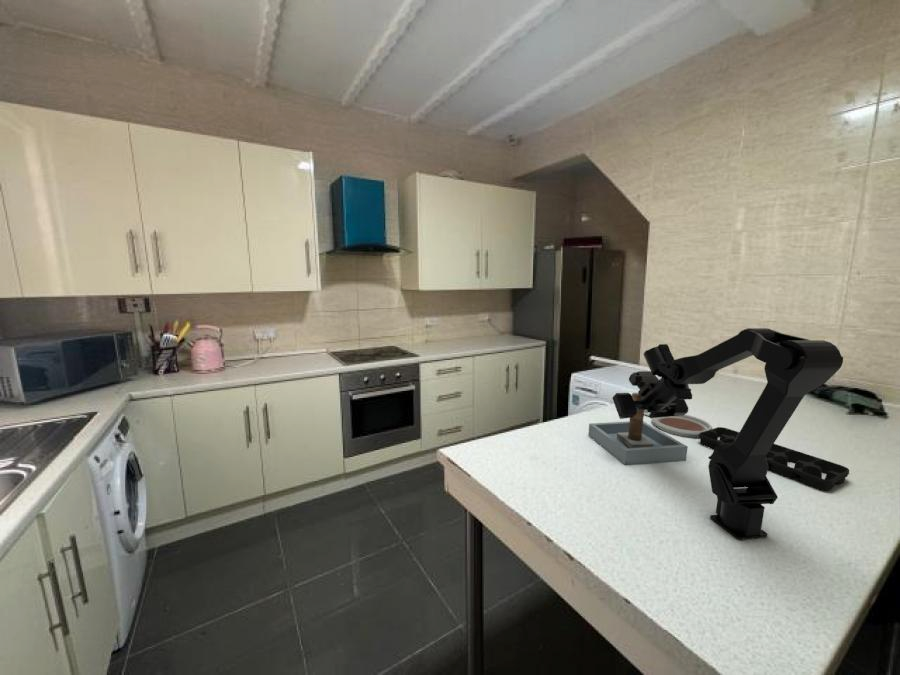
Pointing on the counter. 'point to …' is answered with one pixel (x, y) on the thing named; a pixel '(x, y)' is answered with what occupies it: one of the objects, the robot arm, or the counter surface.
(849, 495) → the counter surface
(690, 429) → the frying pan
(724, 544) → the counter surface
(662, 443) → the tray
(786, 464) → the egg carton
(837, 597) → the counter surface
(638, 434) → the brown post on plinth
